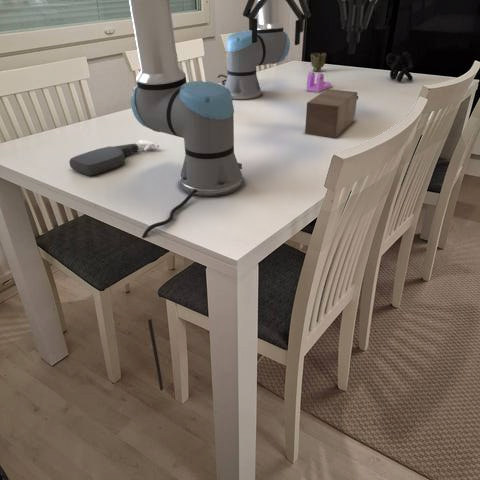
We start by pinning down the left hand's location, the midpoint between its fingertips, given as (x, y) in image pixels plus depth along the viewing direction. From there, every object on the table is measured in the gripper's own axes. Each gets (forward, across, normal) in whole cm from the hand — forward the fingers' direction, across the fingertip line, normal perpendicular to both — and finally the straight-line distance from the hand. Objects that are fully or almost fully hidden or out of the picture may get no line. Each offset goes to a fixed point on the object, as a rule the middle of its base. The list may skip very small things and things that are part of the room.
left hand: (275, 43), depth 135 cm
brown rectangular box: (+25, -18, -5) cm, 31 cm away
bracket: (+25, -2, -55) cm, 60 cm away
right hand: (+5, -19, -21) cm, 29 cm away
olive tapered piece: (+25, +8, -88) cm, 92 cm away
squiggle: (+25, -32, -81) cm, 91 cm away
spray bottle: (+25, +31, +44) cm, 59 cm away
